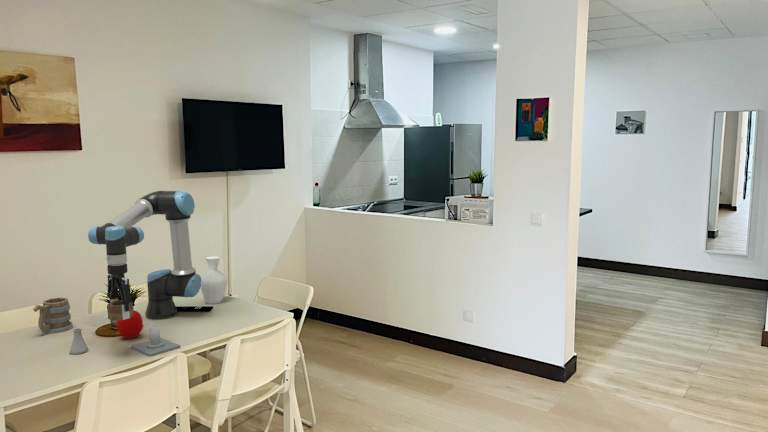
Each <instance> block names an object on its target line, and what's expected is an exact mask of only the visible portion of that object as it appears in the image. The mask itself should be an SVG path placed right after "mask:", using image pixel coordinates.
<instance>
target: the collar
mask: <svg viewBox="0 0 768 432" xmlns="http://www.w3.org/2000/svg"><path fill="white" fill-rule="evenodd" d="M122 303H123V302H122V299H118V301H113V302H111V301H110V302H109V303H107V304H106V309H107V319H108V320H109V321H112V322H114V321H117V320H123V318H122V305H121V304H122ZM133 304H134V303H133V301H132V302H131V303H129V313H130V318H131V317H132V316H133V310H134V307H133V306H134V305H133ZM128 319H129V318H128ZM124 320H125V319H124Z"/></svg>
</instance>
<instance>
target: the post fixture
mask: <svg viewBox="0 0 768 432" xmlns="http://www.w3.org/2000/svg"><path fill="white" fill-rule="evenodd" d="M160 329H161V328H160V325H158V324H153V325H150V326H149V340H146V341H142V342H139V343H136V344H131V345H130V349H132V350H135V351H136V352H139V353H141V354H143V355H146V356H148V357H154V356H158V355H160V354H164V353H167V352H170V351H173V350H174V351H175V350H176V349H181V344H178V343H176V342H173V341H171V340H168V339H165V338H163V337H161V332H160Z"/></svg>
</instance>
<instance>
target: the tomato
mask: <svg viewBox="0 0 768 432" xmlns="http://www.w3.org/2000/svg"><path fill="white" fill-rule="evenodd" d="M143 323H144V321H143V317H142V315H141V314H140V312H138V311H137V310H135V309H133V316H132V317H131V318H129V319H125V320H116V325H115V326H116V329H117V332H118V333H119V334H120V336H121V337H123V338H125V339H134V338H137V337H138V336H139V335H140V334H141V331H142V329H143V325H144V324H143Z"/></svg>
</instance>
